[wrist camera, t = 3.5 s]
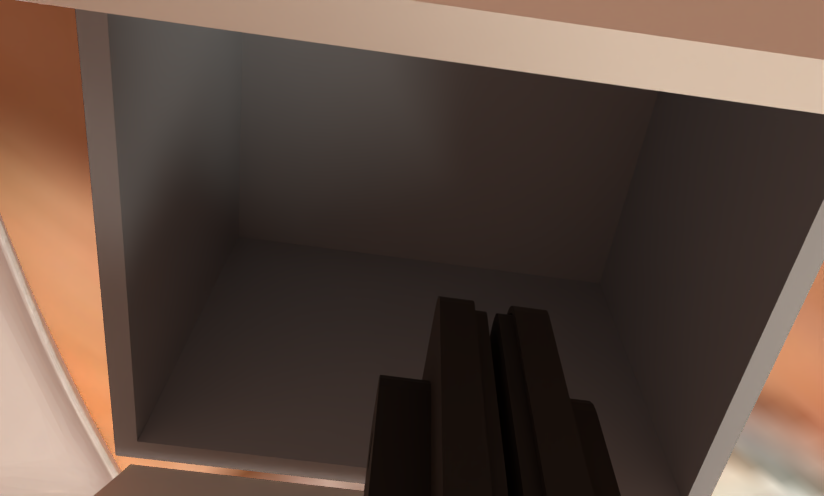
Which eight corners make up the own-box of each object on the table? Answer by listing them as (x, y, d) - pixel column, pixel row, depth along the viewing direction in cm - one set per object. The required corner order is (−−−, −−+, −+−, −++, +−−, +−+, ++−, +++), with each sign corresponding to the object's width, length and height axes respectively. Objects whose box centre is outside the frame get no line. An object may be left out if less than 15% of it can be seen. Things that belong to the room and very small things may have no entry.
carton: (764, -211, 22) (1073, -263, 11) (607, 289, 30) (698, 521, 20) (232, -296, 21) (34, -436, 11) (227, 240, 30) (115, 455, 19)
